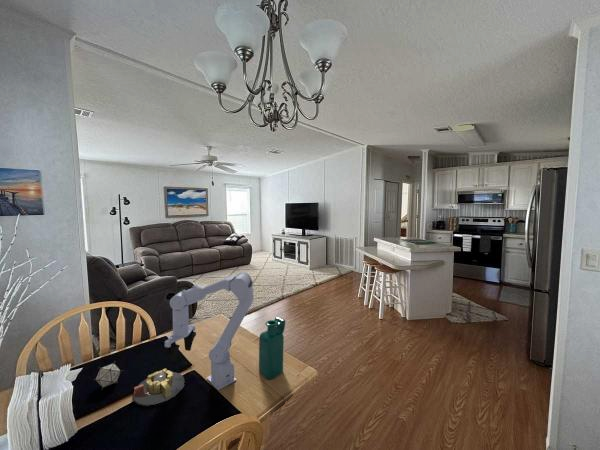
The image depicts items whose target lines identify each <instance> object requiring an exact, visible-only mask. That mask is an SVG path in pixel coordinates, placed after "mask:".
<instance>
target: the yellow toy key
mask: <svg viewBox="0 0 600 450" xmlns="http://www.w3.org/2000/svg"><path fill="white" fill-rule="evenodd" d="M172 372H173V371H171V370H168V369H167V368H163V369H162V370H159V371H155V372H153V373H151V374H148V376H147V378H146V379H147V381H146V389H147V391H148V392H149V393H152V394H156V393H160V392H162V394H163V395H164V396H165V398H167V397H169V396H171V386H172V383H173V373H172ZM159 373H165V374H166V379H165V380H164V381H162V382H158V383H157V381H154V376H155V375H157V374H159Z"/></svg>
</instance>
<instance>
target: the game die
mask: <svg viewBox="0 0 600 450" xmlns="http://www.w3.org/2000/svg"><path fill="white" fill-rule="evenodd" d="M98 370H99V371H98V372H97V376H96V377H95V378H94V379H93V381H96V382H97V383H98V385H99V386H100V387H101V391H103V390H104V388H105V387H108V386H110V385H113V384H119V381H118V379H119V376H120V374H121V373H122V372H124V369H120V368H119V366H117V365H116V360H114V361H113V362H112V363H110V364H107V365H105V366H103V367H100V366H98Z"/></svg>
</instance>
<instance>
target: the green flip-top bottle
mask: <svg viewBox="0 0 600 450" xmlns="http://www.w3.org/2000/svg"><path fill="white" fill-rule="evenodd" d="M265 326H266V327H267V329H266V330H265V331H263V332H261V333H260V335H259V336H258V372H259V374H260V375H262V376H263V377H264V378H265V379H267V380H273V379H275V378H276V377H278V376H280V375H282V374H283V372H284V349H285V348H284V347H285V346H284V343H285V341H284V338H285V336H284V332H285V328H286V320H285V319H283V318H282V317H279V316H275V317H274V319H273V320H272V319H270V320H267V321H266V322H265Z"/></svg>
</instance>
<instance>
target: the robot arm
mask: <svg viewBox="0 0 600 450" xmlns="http://www.w3.org/2000/svg"><path fill="white" fill-rule="evenodd" d="M253 286H254V282H253V279H252V277H251V276H250V274H248V272H245V271H244V272H242V271H241V272H239V273H238V274H236V273H235V274H232V275H230V276H227V277H224V278H222V279H220V280H217V281H215V282H213V283H210V284H208V285H205V286H204V285H202V284H201V285H200V284H199V285H197V284H195V285H193V286H192V287H191V288H189V289H187V290H186V289H182V290H181V291H179V292H178V293H176V294H174V296H172V297H171V298H170V300H169V307H170V308H171V309H172V332H171V335H170V336H169V337H168V339H166V340H165V341H164V344H163V345H164V348H165V350H167V353H168V354H169V357H170V360H171V361H172V362H175V363H176V362H177V361H178V354H179V348H180V346H181V345H180V344H177V341H180V340H182V339H183V341H184V350H185V351H188V352H190V351H191V350H192V345H193V342H194V339H195V337H196V336H197V331H196V325H193V324H191V325H190V324H189V321H190V319H189V305H192V304H195V303H199V302H200V301H204V300H205V299H206V297H207V295H209V294H212V293H215V292H219V291H222V290H225V291H227V292H229V293H230V292H232V293H233V295H234V296H235V297H236V298H237V300H238V304H237V306H236V308H235V310H234V312H233V313H232V315H231V317H230V319H229V320H228V323H227V324H226V326H225V329H224V330H223V332H222V334H221V335H220V336H219V337H218V338H217V339H216V342H215V343H214V345H213V346H212V348H211V349H210V351H208V358H209V360H210V375H209V376H207V377H206V380H207V381H208V382H210V383H211V384H212V385H213V387H215V389H217V390H218V391H220V390H222V389H223V388H225V387H227V386H229V385H230V384H232V383H234V382H236V381H237V378H236V377H235V365H234V363H232V361H231V357H230V356H231V355H230V351H229V350H230V349H231V347H232V340H233V338H234V337H235V335H236V333H237V331H238V329H239V328H240V325H241V323H242V322H243V320H244V318H245V317H246V314H247V313H248V311H249V310H250V308H251V305H252V304H253V301H254V289H253V288H254V287H253Z"/></svg>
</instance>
